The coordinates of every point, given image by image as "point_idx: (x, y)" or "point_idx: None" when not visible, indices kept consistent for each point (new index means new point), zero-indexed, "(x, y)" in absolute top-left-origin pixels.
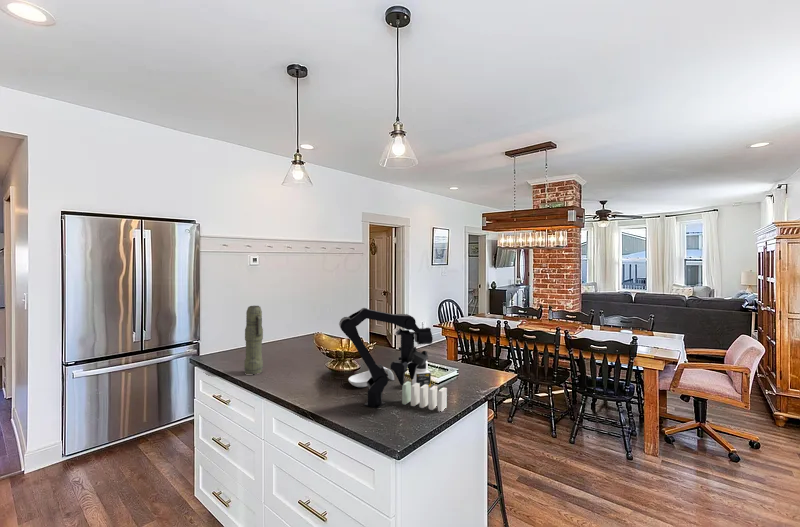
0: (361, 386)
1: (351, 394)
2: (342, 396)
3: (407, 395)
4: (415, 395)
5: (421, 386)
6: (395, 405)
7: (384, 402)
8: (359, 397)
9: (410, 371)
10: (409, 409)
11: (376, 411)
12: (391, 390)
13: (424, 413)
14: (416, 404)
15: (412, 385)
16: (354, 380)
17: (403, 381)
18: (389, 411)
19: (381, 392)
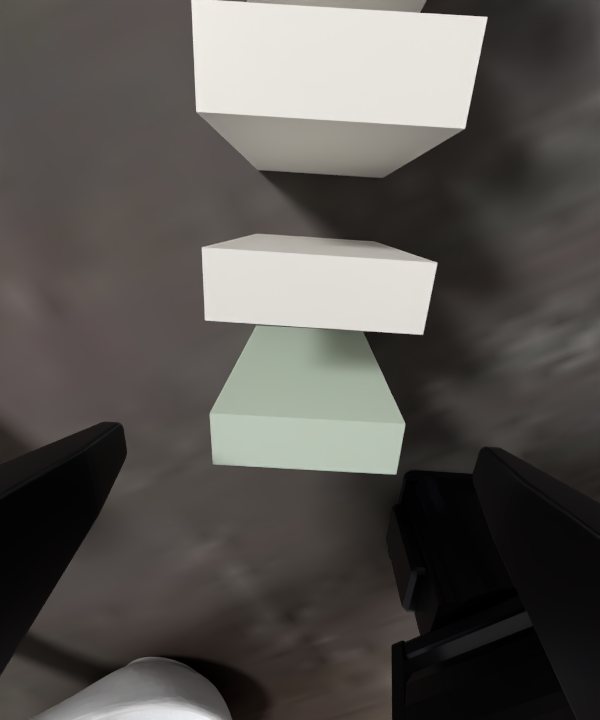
0: (205, 678)
1: (332, 667)
2: (382, 685)
3: (327, 353)
4: (361, 246)
5: (379, 122)
6: (414, 394)
7: (417, 479)
8: (359, 624)
9: (28, 581)
10: (468, 251)
11: (576, 462)
12: (134, 529)
13: (537, 47)
14: (324, 238)
15: (384, 321)
16: None
17: (553, 484)
18: (556, 384)
19: (502, 566)
